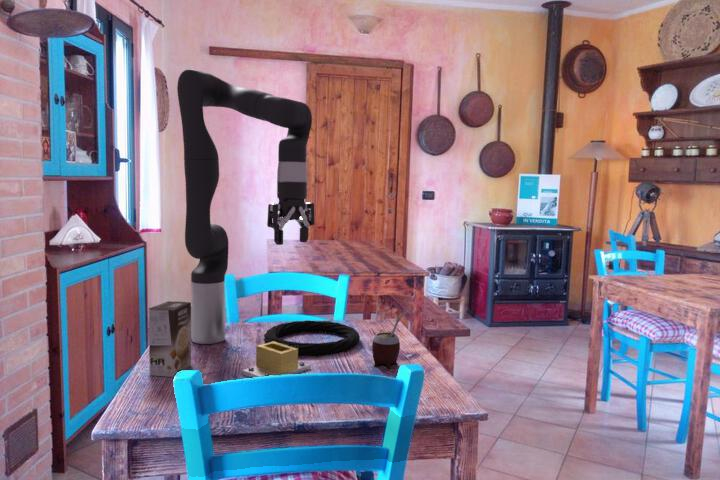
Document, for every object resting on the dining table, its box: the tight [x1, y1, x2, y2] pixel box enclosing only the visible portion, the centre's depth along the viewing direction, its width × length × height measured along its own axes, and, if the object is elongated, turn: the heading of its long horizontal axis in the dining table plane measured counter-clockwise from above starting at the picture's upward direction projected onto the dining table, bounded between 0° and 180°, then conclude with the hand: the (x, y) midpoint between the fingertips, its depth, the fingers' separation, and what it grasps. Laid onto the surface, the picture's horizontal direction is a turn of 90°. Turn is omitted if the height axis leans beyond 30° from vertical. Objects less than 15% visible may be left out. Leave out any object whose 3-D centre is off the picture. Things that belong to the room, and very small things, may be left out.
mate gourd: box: [371, 310, 410, 371], centre depth 140 cm, size 8×8×15 cm
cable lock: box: [263, 320, 361, 357], centre depth 159 cm, size 28×4×30 cm
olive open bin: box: [255, 341, 299, 374], centre depth 135 cm, size 9×5×5 cm, turn 50°
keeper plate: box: [241, 360, 311, 378], centre depth 135 cm, size 14×9×4 cm, turn 140°
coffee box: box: [148, 300, 192, 378], centre depth 134 cm, size 9×6×16 cm
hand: (291, 243), depth 144 cm, fingers open, 8 cm apart
